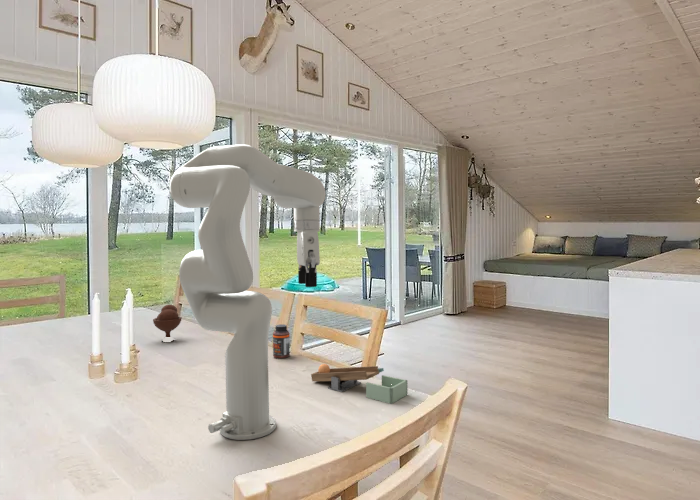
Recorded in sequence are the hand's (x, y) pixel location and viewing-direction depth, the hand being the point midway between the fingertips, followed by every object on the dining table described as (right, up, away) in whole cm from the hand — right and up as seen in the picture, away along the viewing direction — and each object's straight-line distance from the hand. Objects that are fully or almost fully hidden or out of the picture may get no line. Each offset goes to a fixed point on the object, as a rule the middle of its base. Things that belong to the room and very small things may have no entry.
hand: (307, 285), depth 138 cm
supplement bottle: (-12, -28, +31) cm, 44 cm away
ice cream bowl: (-63, -28, +57) cm, 89 cm away
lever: (+12, -27, 0) cm, 29 cm away
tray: (+23, -29, -10) cm, 38 cm away
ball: (+5, -26, +3) cm, 26 cm away
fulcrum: (+11, -29, -2) cm, 31 cm away
